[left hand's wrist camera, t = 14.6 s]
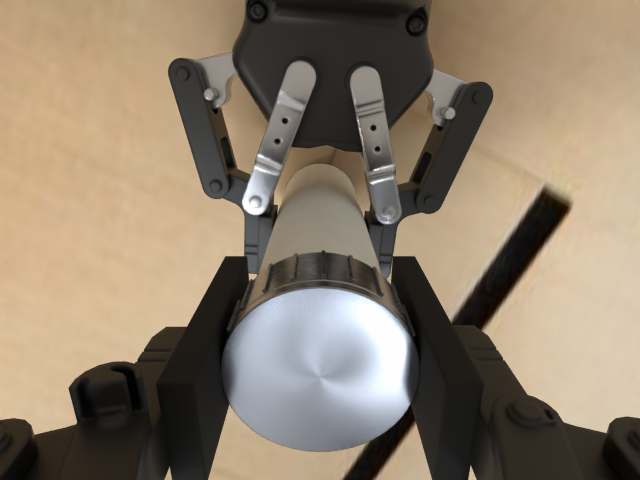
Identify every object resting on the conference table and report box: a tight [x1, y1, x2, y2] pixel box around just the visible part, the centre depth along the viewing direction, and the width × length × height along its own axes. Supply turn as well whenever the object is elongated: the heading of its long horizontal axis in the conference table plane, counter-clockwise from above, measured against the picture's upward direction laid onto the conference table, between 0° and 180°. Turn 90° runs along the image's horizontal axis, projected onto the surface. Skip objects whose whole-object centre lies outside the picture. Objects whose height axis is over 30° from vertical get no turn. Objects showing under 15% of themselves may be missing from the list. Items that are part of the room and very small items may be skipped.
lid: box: [220, 250, 420, 452], centre depth 12 cm, size 5×5×2 cm
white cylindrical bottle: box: [258, 164, 382, 275], centre depth 19 cm, size 4×4×17 cm
